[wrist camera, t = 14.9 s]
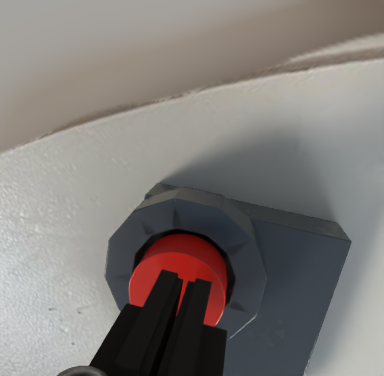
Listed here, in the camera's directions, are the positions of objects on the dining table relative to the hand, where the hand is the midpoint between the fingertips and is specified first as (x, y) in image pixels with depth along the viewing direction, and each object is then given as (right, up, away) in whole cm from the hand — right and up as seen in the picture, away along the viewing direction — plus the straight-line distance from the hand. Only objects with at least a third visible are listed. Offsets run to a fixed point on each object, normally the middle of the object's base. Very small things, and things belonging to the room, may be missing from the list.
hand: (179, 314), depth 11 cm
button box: (+2, -1, +7) cm, 8 cm away
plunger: (0, 0, +3) cm, 3 cm away
